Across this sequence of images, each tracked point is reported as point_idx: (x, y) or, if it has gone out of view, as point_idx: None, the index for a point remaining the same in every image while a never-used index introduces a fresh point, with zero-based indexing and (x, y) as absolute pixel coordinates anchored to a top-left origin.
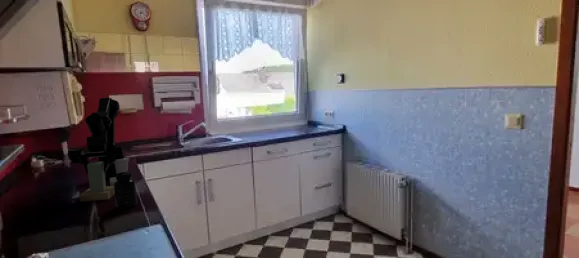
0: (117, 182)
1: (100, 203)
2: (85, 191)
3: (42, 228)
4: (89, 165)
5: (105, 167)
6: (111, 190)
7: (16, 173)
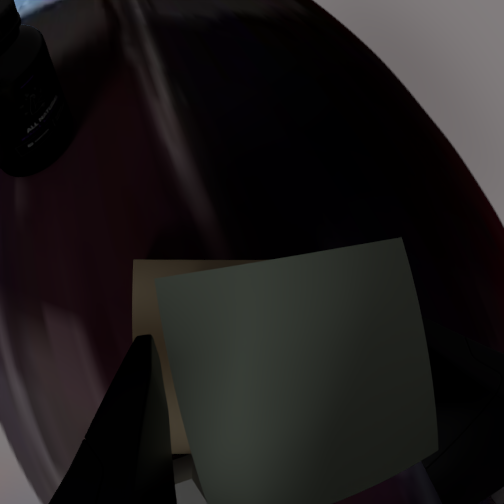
0: (21, 26)
1: (165, 202)
2: None
3: (282, 29)
4: (363, 247)
5: (124, 370)
6: (133, 338)
7: None
